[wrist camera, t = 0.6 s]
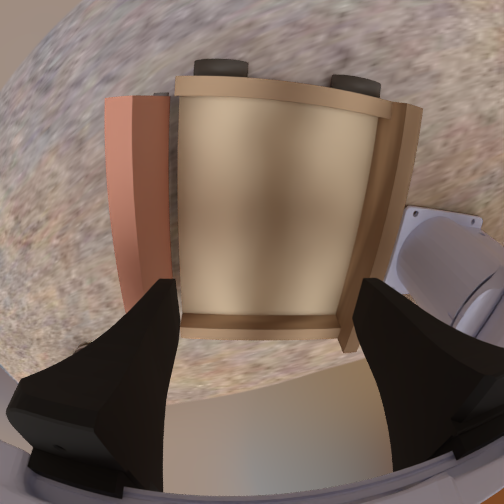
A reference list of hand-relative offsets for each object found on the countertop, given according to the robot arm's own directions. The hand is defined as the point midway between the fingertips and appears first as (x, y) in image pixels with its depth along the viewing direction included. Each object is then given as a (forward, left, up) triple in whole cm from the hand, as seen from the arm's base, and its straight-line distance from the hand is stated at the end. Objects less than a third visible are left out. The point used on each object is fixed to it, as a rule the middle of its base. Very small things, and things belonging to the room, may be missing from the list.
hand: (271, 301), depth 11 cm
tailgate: (+6, 0, -7) cm, 9 cm away
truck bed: (-1, 0, -10) cm, 10 cm away
